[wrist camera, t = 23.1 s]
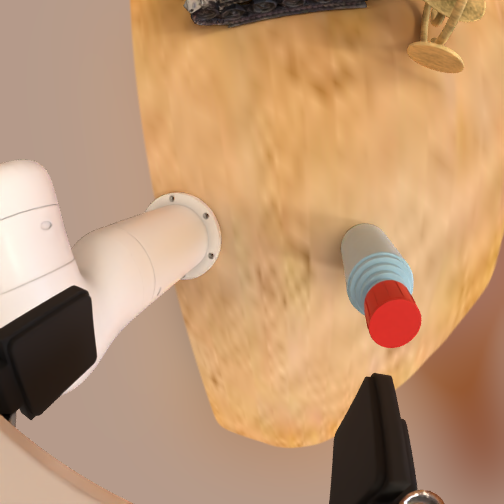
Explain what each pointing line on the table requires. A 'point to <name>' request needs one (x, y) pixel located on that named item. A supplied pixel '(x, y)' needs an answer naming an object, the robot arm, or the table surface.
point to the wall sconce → (444, 33)
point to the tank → (258, 9)
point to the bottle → (371, 262)
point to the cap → (391, 314)
